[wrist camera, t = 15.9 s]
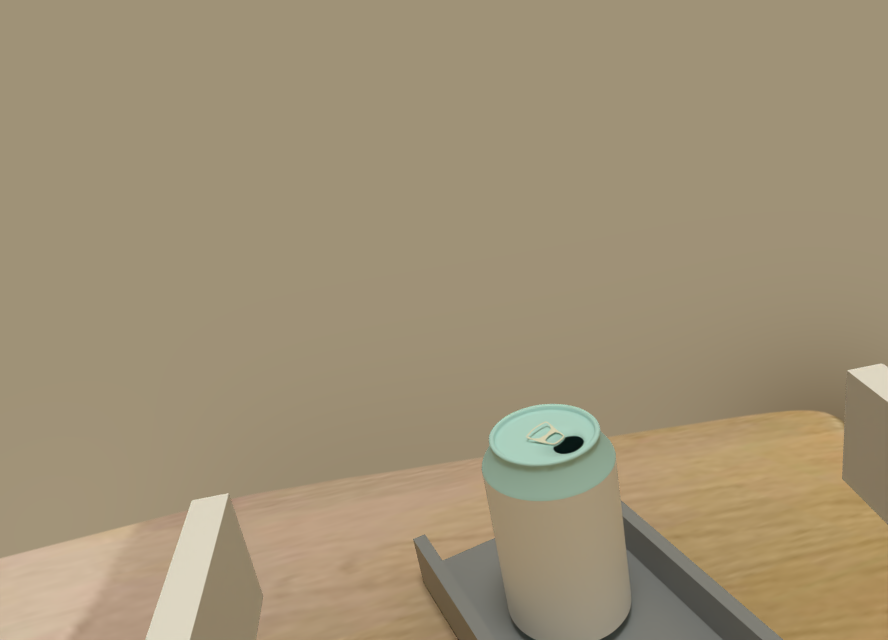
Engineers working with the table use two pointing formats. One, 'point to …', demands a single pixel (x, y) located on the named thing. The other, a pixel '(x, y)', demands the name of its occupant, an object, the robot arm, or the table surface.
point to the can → (558, 523)
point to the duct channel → (651, 582)
